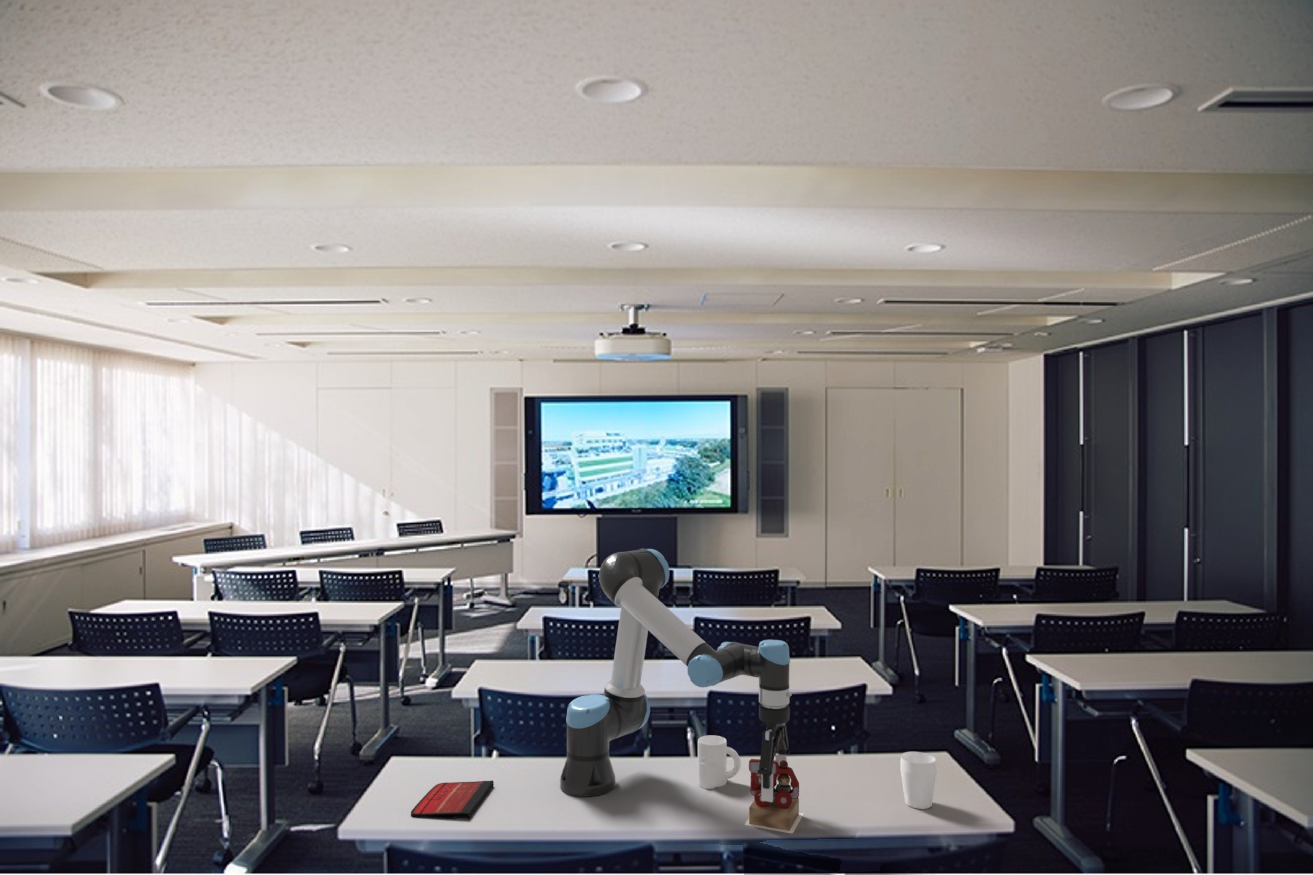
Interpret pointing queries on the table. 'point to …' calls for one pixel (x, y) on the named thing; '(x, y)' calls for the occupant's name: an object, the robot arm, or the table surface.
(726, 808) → the table surface
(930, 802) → the cup
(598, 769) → the robot arm
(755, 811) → the base block
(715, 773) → the mug
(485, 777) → the table surface
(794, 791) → the toy fire truck
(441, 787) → the binder
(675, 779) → the table surface
